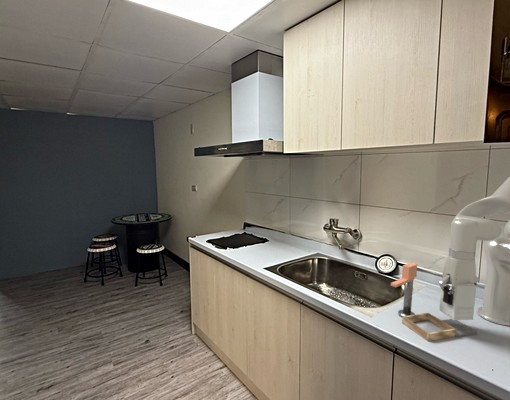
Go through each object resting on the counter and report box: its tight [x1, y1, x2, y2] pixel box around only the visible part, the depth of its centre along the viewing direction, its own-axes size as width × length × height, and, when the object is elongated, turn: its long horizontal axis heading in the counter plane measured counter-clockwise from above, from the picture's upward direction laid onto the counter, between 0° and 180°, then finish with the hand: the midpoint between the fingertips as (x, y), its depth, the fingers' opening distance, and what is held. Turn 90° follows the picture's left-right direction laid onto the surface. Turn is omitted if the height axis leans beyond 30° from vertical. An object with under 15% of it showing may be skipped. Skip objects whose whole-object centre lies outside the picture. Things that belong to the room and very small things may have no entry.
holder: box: [401, 312, 456, 342], centre depth 103 cm, size 12×12×2 cm
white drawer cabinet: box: [439, 282, 477, 321], centre depth 103 cm, size 7×7×13 cm
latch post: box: [397, 280, 416, 318], centre depth 112 cm, size 6×6×14 cm
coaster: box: [440, 318, 478, 338], centre depth 104 cm, size 9×9×1 cm
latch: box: [390, 262, 418, 288], centre depth 109 cm, size 2×14×6 cm, turn 124°
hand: (457, 301), depth 103 cm, fingers closed on white drawer cabinet, 8 cm apart
